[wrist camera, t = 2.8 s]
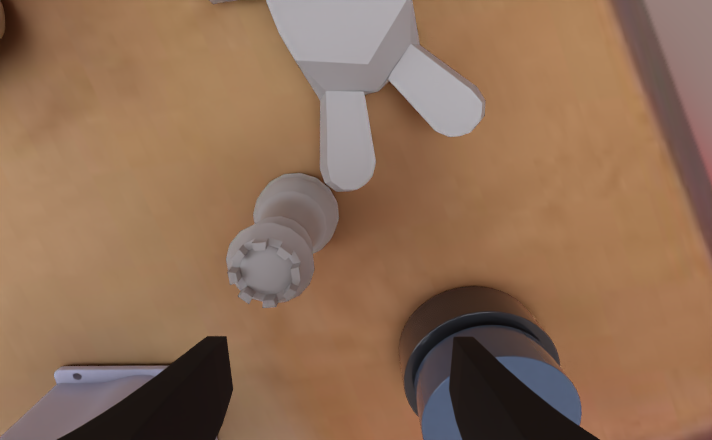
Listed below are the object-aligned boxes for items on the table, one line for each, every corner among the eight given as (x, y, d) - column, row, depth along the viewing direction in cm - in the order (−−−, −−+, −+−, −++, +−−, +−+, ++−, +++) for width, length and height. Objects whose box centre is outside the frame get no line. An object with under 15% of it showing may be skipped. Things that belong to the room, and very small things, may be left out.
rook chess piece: (257, 244, 21) (199, 324, 13) (260, 166, 20) (198, 206, 12) (335, 252, 21) (322, 337, 14) (343, 176, 20) (334, 222, 12)
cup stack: (397, 403, 24) (408, 489, 19) (400, 286, 22) (414, 347, 16) (527, 402, 24) (576, 488, 19) (546, 285, 22) (609, 346, 16)
